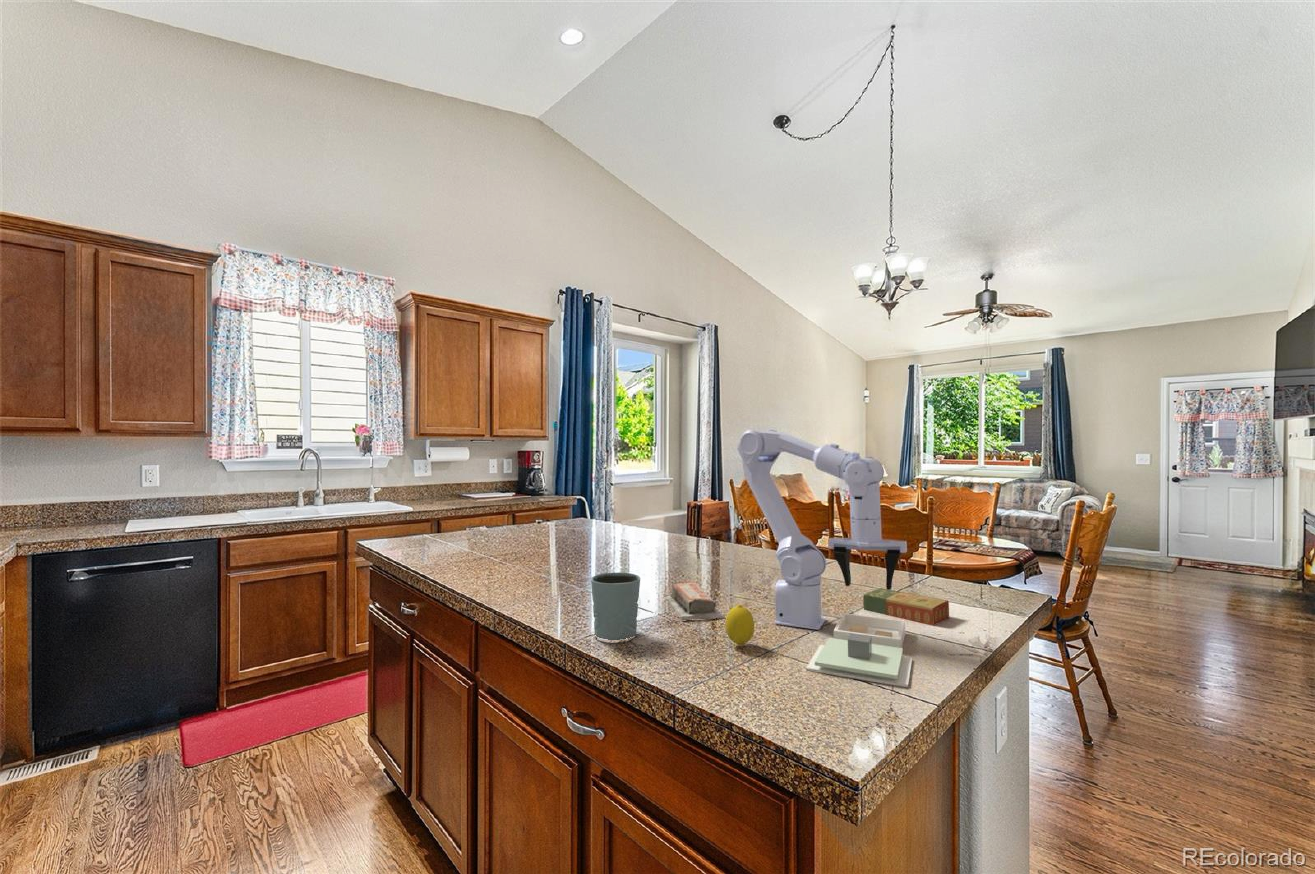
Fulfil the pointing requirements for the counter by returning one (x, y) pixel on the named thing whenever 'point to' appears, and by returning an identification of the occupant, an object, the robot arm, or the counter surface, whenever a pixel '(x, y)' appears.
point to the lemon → (739, 625)
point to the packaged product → (692, 602)
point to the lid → (860, 656)
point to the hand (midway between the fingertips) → (868, 586)
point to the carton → (907, 606)
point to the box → (872, 629)
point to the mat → (901, 681)
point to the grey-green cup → (615, 605)
